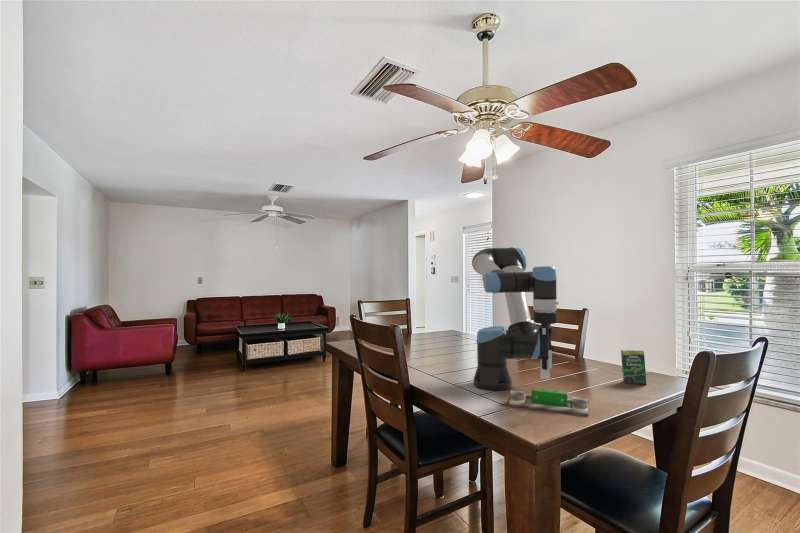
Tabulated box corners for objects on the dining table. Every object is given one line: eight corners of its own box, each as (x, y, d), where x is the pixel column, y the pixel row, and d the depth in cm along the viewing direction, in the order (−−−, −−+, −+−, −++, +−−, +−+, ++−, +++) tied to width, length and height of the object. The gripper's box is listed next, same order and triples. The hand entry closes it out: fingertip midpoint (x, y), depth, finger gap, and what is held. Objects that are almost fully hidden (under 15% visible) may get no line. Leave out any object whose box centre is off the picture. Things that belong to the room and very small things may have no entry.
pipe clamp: (567, 404, 123) (567, 391, 123) (567, 408, 119) (567, 394, 119) (532, 400, 127) (532, 387, 127) (531, 403, 124) (531, 390, 124)
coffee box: (622, 382, 148) (621, 350, 149) (622, 381, 151) (620, 349, 151) (646, 385, 145) (645, 352, 145) (645, 383, 147) (644, 350, 148)
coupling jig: (508, 405, 125) (507, 394, 125) (512, 396, 134) (512, 386, 134) (589, 416, 114) (589, 404, 114) (588, 405, 123) (588, 394, 123)
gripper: (555, 316, 112) (556, 385, 112) (558, 307, 134) (559, 365, 134) (529, 315, 115) (531, 382, 115) (536, 307, 138) (537, 363, 138)
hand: (546, 373), depth 125 cm, fingers open, 13 cm apart
